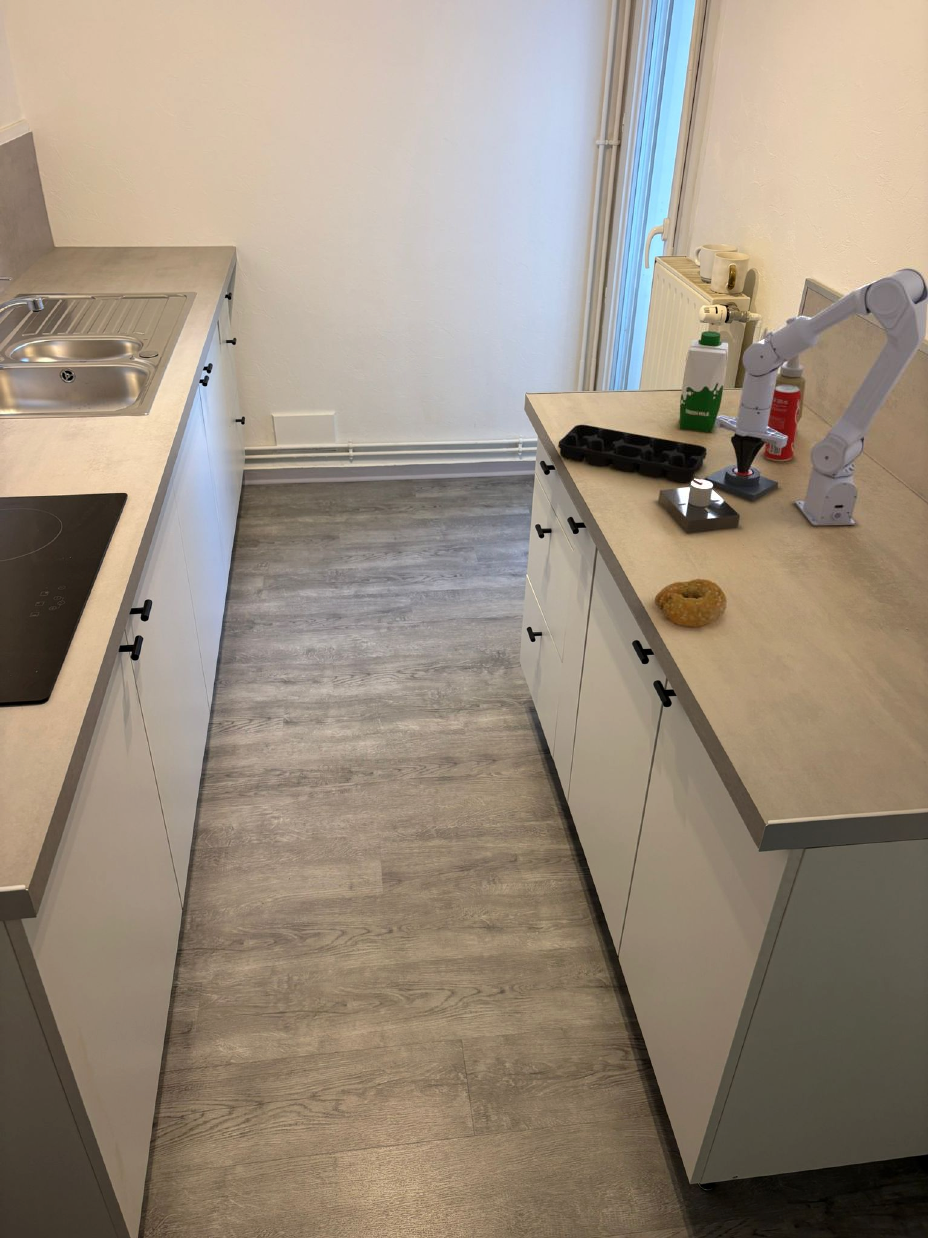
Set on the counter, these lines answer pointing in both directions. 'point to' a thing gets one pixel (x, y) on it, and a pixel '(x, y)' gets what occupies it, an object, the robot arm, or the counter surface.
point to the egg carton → (633, 452)
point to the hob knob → (700, 493)
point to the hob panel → (698, 511)
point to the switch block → (742, 483)
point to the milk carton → (703, 382)
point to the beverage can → (784, 420)
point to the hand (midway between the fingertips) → (743, 471)
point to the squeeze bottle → (792, 378)
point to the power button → (743, 473)
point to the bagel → (692, 602)
